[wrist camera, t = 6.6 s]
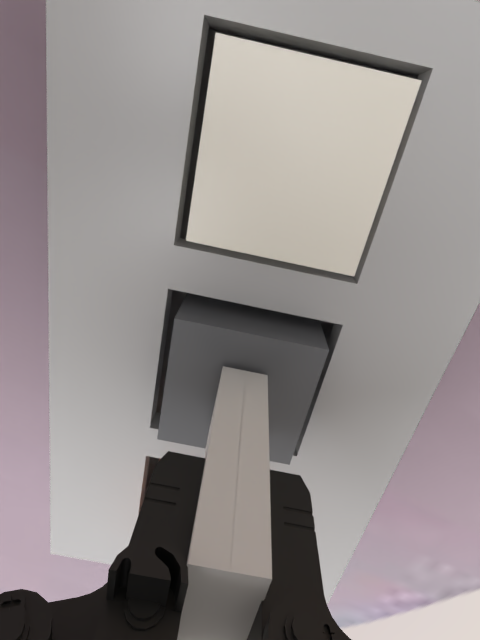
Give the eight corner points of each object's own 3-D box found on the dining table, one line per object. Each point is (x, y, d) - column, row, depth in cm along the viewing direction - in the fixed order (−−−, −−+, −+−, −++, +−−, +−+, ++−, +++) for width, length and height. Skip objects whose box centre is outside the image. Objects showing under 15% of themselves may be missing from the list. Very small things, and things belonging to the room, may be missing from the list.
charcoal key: (190, 286, 15) (174, 318, 12) (317, 312, 15) (329, 349, 12) (173, 391, 17) (156, 439, 14) (285, 413, 17) (289, 464, 14)
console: (117, -22, 14) (44, -104, 9) (500, 69, 14) (614, 34, 10) (91, 474, 24) (50, 553, 19) (315, 516, 24) (327, 603, 20)
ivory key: (226, 57, 12) (216, 32, 9) (385, 94, 12) (421, 80, 9) (200, 221, 14) (185, 240, 11) (336, 250, 14) (354, 276, 11)
